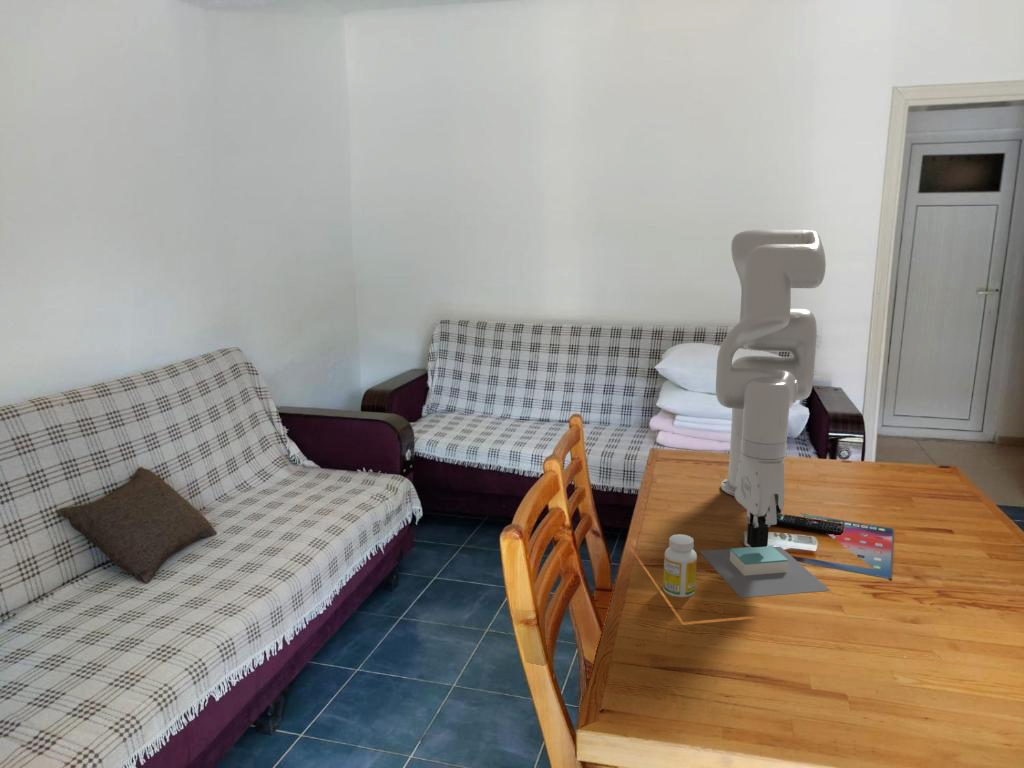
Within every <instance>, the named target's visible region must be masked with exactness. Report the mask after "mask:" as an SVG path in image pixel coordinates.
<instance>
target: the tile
mask: <svg viewBox="0 0 1024 768" xmlns="http://www.w3.org/2000/svg"><path fill="white" fill-rule="evenodd" d="M773 546H774V545H767V546H766V547H755V548H752V547H751V546H746V547H734V548H729V549H730V561H731V562H732V563H733V564H734V565H735V567H736V568H737V569H738V570H739V571H740V572H741V573H742V574H743V575H744V576H747V575H759V574H772V573H784V572H787V564H788V560H787V559H786V558H785V557H784V556H783V555H782V554H781V553H780V552H778V551H777V550H776V549H775V548H774V547H773Z"/></svg>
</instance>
